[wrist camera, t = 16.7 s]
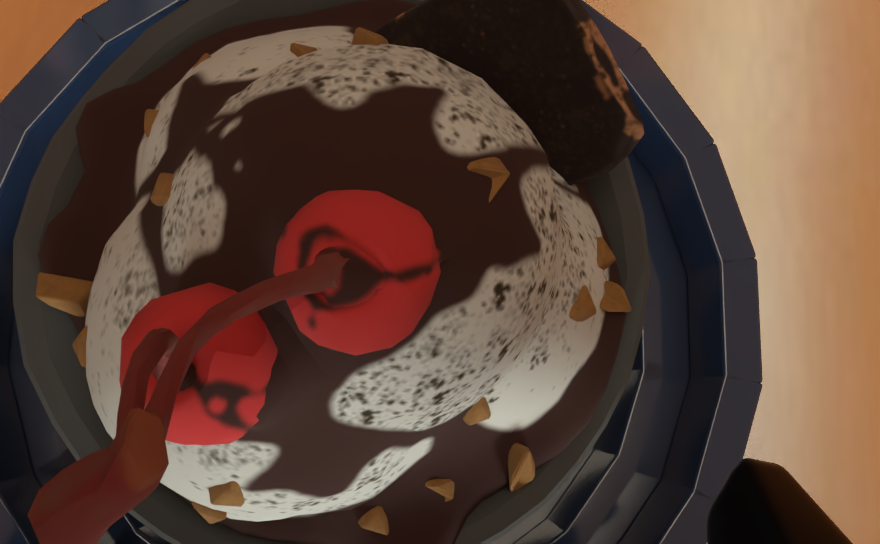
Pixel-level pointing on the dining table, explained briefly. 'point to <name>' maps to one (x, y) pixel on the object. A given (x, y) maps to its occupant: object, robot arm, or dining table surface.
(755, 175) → the dining table surface
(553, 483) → the sundae
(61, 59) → the bowl
